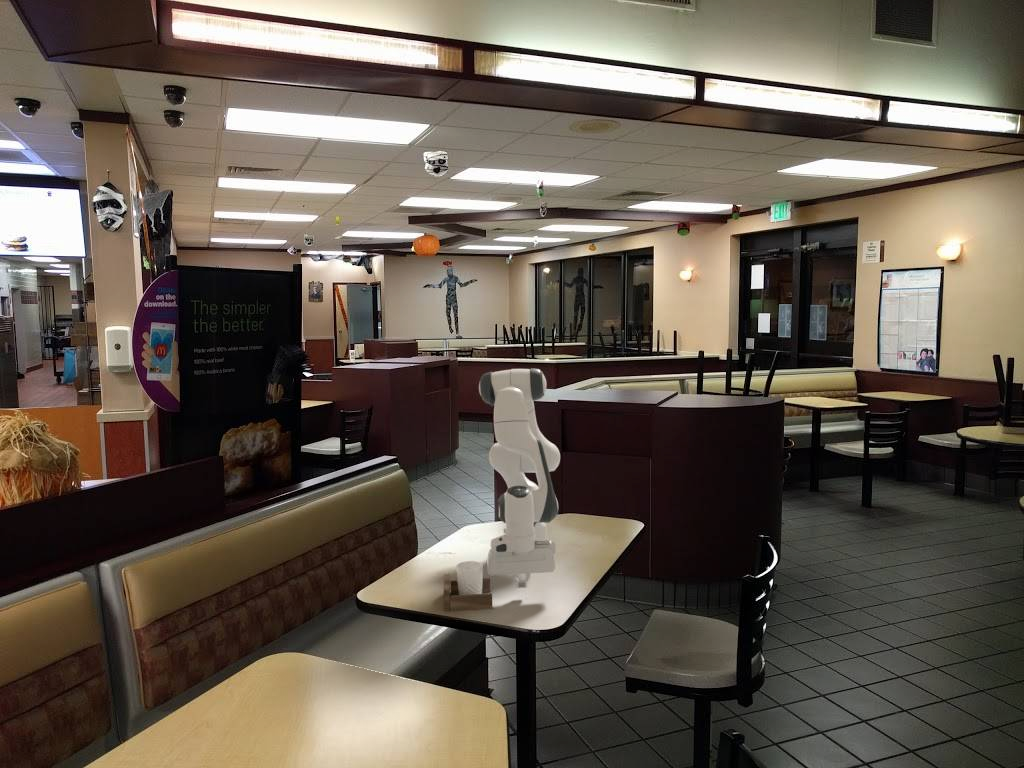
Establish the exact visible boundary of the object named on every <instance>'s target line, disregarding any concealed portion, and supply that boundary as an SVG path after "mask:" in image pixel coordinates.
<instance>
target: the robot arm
mask: <svg viewBox="0 0 1024 768" xmlns="http://www.w3.org/2000/svg"><path fill="white" fill-rule="evenodd" d="M547 385H548V384H547V379H546V376H545V375H544V372H543V371H542V370H541V369H539V368H532V367H531V368H530V369H529V368H511V369H504V370H499V371H494V372H493V371H489V372H486V373H484V374H482V375H481V377H480V380H479V384H478V392H479V395H480V397H481V399H482V401H483V402H485V404H488V405H490V406H491V407H494V408H493V429H494V437H495V441H496V442H495V443H494V444H493V445H492V446H491V448H490V450H489V453H488V461H489V463H490V465H491V467H492V468H493V469H494V470H495V471H496V472H498V473H499V474H500V475H501V477H502V478H503V480H504V482H505V484H506V486H507V489H506V492H504V493H502V494H501V495H500V496H499V498H498V499H497V504H498V513H497V514H498V516H497V517H498V519H499V520H501V522H503V523H504V524H506V526H504V527H503V535H500V536H497V537H494V538H493V539H492V538H491V540H490V549H489V551H488V553H487V561H486V571H487V574H488V575H489V576H491V577H493V576H508V575H509V576H510V575H511V576H512V578H513V579H514V581H515V583H516V588H517V589H527V587H528V585H527V584H528V581H529V580H530V578H531V574H540V573H541V574H542V573H554V571H555V570H556V559H555V553H556V551H557V550H556V543H555V542H553V541H551V540H549V539H548V528H547V524H546V523H548V524H549V523H551V522H552V521H553V520H554V519H555V518H556V517H557V516H558V515H559V502H558V499H557V497H556V494H555V491H554V487H553V482H552V478H551V473H550V472H555V471H556V470H557V468H558V467H559V465H560V463H561V453H560V450H559V448H558V447H557V446H556V444H554V443H552V442H551V441H549V440H548V439H547V438H546V437H545V436H544V434H543V433H542V432H541V431H540V428H539V425H538V423H537V422H538V421H537V417H536V410H535V403H534V401H536V400H541V399H542V398H543V397H544V396H545V393H546V392H547V391H546V390H547ZM525 473H532V474H534V473H535V476H536V480H537V484H538V485H537V484H536V483H535V482H534V481H531V480H530V479H529V478H528V477H526V474H525ZM523 574H524V575H525V577H524V578H523V579H521V580H520V579H518V577H519V575H523Z"/></svg>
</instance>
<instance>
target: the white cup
mask: <svg viewBox="0 0 1024 768" xmlns="http://www.w3.org/2000/svg"><path fill="white" fill-rule="evenodd" d="M455 567H456V580H457V583H458V591H459V594H458V595H473V594H483V592H482V583H483V578H484V565H483V563H482V562H480V561H476V560H469V561H468V560H466V561H462V562H459V563H457V564H456V565H455Z"/></svg>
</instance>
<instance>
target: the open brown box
mask: <svg viewBox="0 0 1024 768" xmlns="http://www.w3.org/2000/svg"><path fill="white" fill-rule="evenodd" d="M443 575H444V576H443V607H444V609H443V611H444V612H450V611H451V610H454V611H467V610H468V611H469V610H486V609H493V606H494V605H493V593H491V578H490V577H483V583H482V594H473V595H459V591H458V583H457V579H450V578H451V577H450V573H444V574H443ZM489 592H490V593H489ZM457 594H458V595H457Z"/></svg>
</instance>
